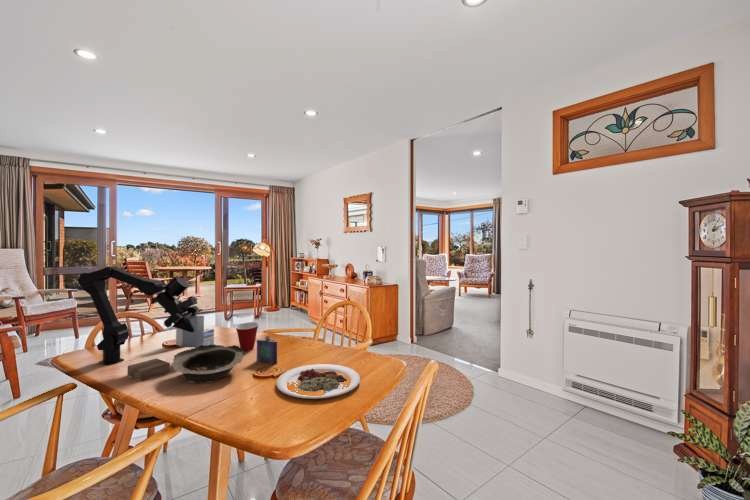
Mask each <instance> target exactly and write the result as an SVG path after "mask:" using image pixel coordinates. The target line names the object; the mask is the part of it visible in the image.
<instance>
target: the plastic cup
mask: <svg viewBox="0 0 750 500" xmlns="http://www.w3.org/2000/svg"><path fill="white" fill-rule="evenodd" d="M259 324H260V323H259V322H252V321H251V322H243V323H239V324H237V325H235V326H234V328H235V330H236V333H237V337H238V343H239V348H241V349H243V352H249V351H250V352H251V351H252V350H254V348H255V343H256V340H257V332H258V328H259Z"/></svg>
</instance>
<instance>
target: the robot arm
mask: <svg viewBox="0 0 750 500" xmlns="http://www.w3.org/2000/svg"><path fill="white" fill-rule="evenodd" d="M111 278H112V279H115V280H116V281H117V280H118V281H120V282H122V283H125V284H128V285H130V286H132V287H135V288H136V289H138V291H139V292H141V293H143V294H144V295H146V296H153V297H151V302H150V304H151V305H154V304H157V303H158V305H160V306H161V307H162V308H163V309H164V311H163V312H164V314H169V316H168V317H167V318H166V319H165V320H164V321H163V325H164V326H165V327H166V328H167V329H169V328H170V327H171V328H175V329H176V328H179V329H182V330H185V331H188V332H194V330H193V328H192V327H191V326H190V324H189V323H188V322H187V321H186V317H188V316H197V313H198V311H199V310H200V308H199V307H198V306H197V304H198V298H197V297H196V296H194V295H190V296H189V297H187V299H185V300H181V299H179V300H178V299H176V297H179V296H180V295H181V294H183V293H184V292H185V291H187V289H188V288H189V287H190V285H189V282H188V281H186V280H185V279H182V278H180V277H179V276H174V277H173V278H172V279H171V281H170V282H168V283H164V282H163V281H161V280H158V279H152V278H145V277H142V276H140V275H137V274H135V273H132V272H129V271H127V270H124V269H121V268H119V267H117V266H114V265H112V266H106V267H104V268H101V269H98V270H94V271H91V272H83V273H81V274H80V275H79V276H78V278H77V283H78V285H79V286H80V288H81V289H82V290H83V291H84V292H86V293H87V294H88V295H89V296H90V298H91V300H92V302H93V305H94V307H95V309H96V312H97V314H98V316H99V318H100V320H101V323H102V326H103V329H102V338H103V339H102V340H101V341H100V342H99V343H98V344H97V345H96V348H97V350H98V351H102V360H99V361H98V363H99V364H102V365H105V366H106V365H107V366H108V365H112V364H115V363H119V362H124V361H125V359H124V358H121V346H122V345H125V343H126V341H127V340H128V338H129V336H130V329H128V325H127V323H126V322H124V323H121V322H120V321H119V320H118V318H117V316H116V313H115V311H114V309H113V306H112V304H111V302H110V299H109V297H108V296H107V293H106V285H107V284H106V283H107V282H106V281H107V280H108V279H111ZM154 295H156V296H154ZM189 306H191V307H190V308H189Z"/></svg>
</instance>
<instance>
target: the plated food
mask: <svg viewBox="0 0 750 500" xmlns="http://www.w3.org/2000/svg"><path fill="white" fill-rule="evenodd" d="M321 370H325V371H328V372H322V373H319V372H317V371H321ZM334 371H336V372H341V373H343V374H345V375H347V376H348V377H349V378H350V379H351V383H350V385H349V387H347V388H346V387H343V384H341V383H342V382H344V381H347V380H348V379H345V378H344V377H343V375H337V373H336V372H334ZM297 380H300V381H301V382H299V381H297ZM296 381H297V382H299V384H298V383H297V382H296ZM360 381H361V378H360V374H359V373H358V372H357V371H356V370H355V369H352V368H350V367H347V366H343V365H340V364H332V363H331V364H330V363H329V364H328V363H321V364H320V363H317V364H308V365H303V366H298V367H294V368H292V369H289V370H287V371H285V372H284V373H282V374H280V376H279V377H278V378H277V380H276V387H277V389H278V390H279V391H280V392H281V393H283V394H285V395H288V396H290V397H295V398H300V399H315V400H316V399H328V398H333V397H336V396H341V395H343V394H346V393H349V392H351V391H352V390H354V389H355V388H356V387H358V386H359V384H360ZM287 382H289V383H290V384H292V383H291V382H294V383H296V384H298V385H297V386H296V384H294V385H295V387H298V388H299V389H301V390H302V391H310V392H311V391H312V392H313V391H314V392H316V391H318V390H323V391H324V393H325V395H322V396H307V395H300V394H297V393H296V392H298V391H296V392H295V393H294V392H291V391H290V390H288V388H287ZM339 382H340V383H339ZM290 384H289V385H290ZM340 386H341V387H340ZM345 386H347V385H345ZM342 387H343V388H344V389H342ZM339 388H340V389H339ZM295 390H296V389H295ZM297 390H298V389H297Z"/></svg>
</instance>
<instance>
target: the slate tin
mask: <svg viewBox="0 0 750 500" xmlns="http://www.w3.org/2000/svg"><path fill="white" fill-rule="evenodd" d="M186 321H187V322H188V323H189V324H190V326H191V327H192V328H193V330H194V332H188V331H185V330H183V334H182V346H181V348H195V347H198V346H200V345H201V344H203V343H204V330H205V327H204V326H205V316H204V315H196V316H188V317H186Z"/></svg>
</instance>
